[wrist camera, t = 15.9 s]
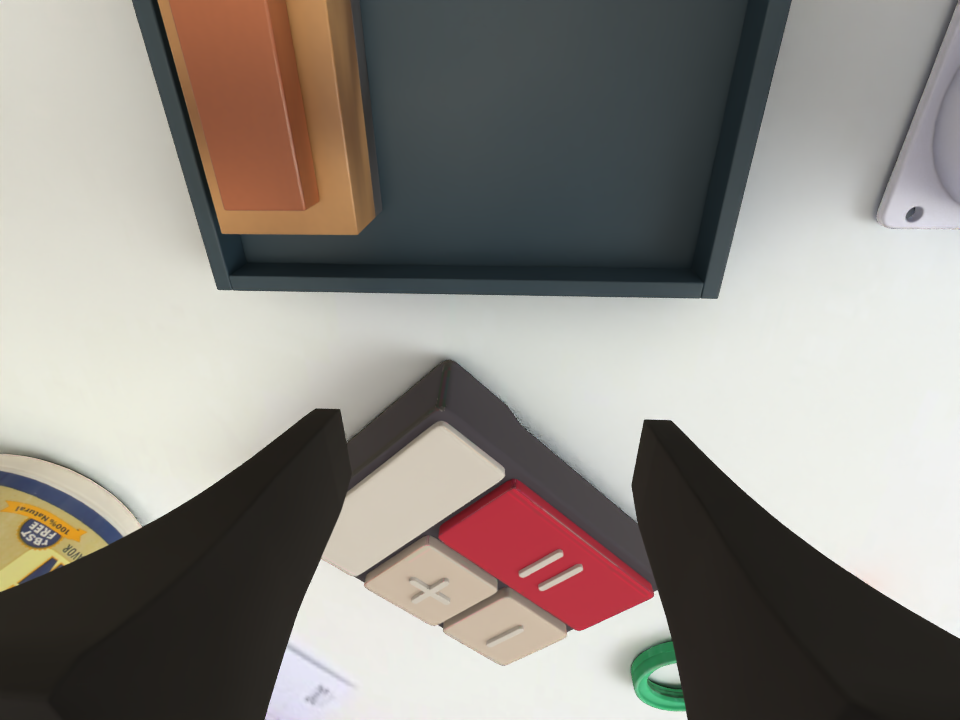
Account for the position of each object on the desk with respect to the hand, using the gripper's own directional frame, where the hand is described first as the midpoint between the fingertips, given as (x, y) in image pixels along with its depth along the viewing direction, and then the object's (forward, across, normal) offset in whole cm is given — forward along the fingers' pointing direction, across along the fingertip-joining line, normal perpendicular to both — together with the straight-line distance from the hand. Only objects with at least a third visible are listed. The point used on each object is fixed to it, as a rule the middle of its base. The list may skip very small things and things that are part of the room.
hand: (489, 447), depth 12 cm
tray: (+9, +2, -8) cm, 12 cm away
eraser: (+9, +7, -8) cm, 13 cm away
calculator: (+10, +1, +12) cm, 15 cm away
